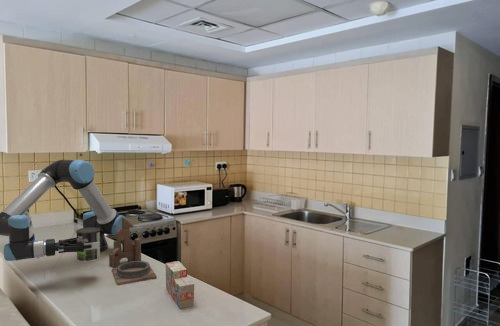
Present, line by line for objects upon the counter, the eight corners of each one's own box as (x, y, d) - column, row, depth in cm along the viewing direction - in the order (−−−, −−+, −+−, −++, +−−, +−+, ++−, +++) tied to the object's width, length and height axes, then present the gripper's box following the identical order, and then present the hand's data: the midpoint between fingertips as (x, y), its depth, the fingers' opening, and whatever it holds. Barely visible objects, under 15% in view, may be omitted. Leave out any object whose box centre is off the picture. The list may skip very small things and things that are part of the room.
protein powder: (21, 256, 210) (18, 204, 207) (15, 246, 228) (13, 198, 226) (40, 252, 216) (38, 202, 213) (33, 243, 234) (30, 196, 232)
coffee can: (89, 263, 169) (88, 233, 168) (71, 261, 172) (71, 231, 171) (105, 256, 178) (104, 228, 177) (88, 254, 182) (87, 226, 181)
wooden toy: (113, 268, 191) (112, 221, 189) (109, 265, 196) (107, 218, 194) (142, 262, 200) (141, 216, 198) (137, 258, 206) (136, 214, 204)
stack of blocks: (194, 305, 150) (194, 276, 149) (179, 309, 147) (179, 279, 146) (179, 286, 169) (178, 260, 168) (165, 289, 166) (165, 262, 165)
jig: (111, 270, 187) (111, 262, 187) (147, 265, 196) (147, 257, 195) (117, 285, 170) (117, 276, 169) (156, 278, 178) (156, 269, 177)
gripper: (46, 249, 177) (96, 243, 187) (44, 264, 157) (100, 256, 167) (45, 233, 176) (96, 228, 186) (43, 246, 156) (100, 240, 166)
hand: (98, 241), depth 177 cm, fingers closed on coffee can, 10 cm apart
